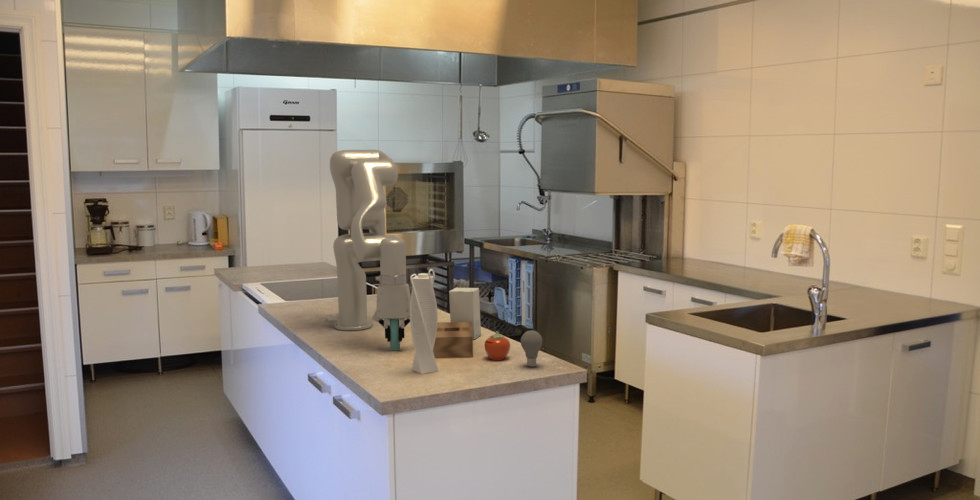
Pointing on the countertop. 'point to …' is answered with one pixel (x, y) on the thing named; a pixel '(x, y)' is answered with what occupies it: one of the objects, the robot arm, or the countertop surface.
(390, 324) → the teal peg
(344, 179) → the robot arm
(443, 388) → the countertop surface
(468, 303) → the skincare box
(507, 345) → the tomato
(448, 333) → the walnut socket block
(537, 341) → the light bulb
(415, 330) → the skyscraper
